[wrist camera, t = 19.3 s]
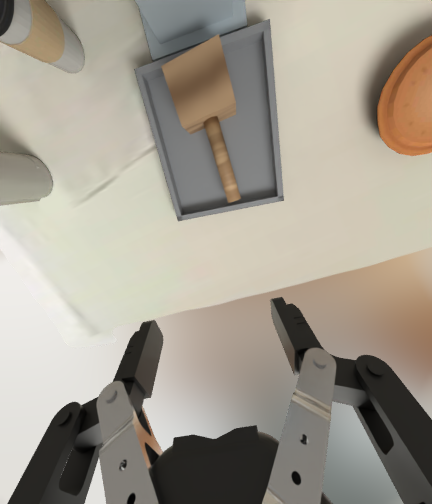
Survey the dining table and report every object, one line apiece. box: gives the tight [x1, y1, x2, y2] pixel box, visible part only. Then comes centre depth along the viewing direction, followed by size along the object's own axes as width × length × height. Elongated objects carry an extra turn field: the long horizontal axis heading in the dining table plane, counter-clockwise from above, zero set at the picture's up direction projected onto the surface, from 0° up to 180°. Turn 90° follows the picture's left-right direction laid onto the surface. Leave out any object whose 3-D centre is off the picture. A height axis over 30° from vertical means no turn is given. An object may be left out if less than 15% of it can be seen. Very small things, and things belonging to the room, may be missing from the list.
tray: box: [134, 19, 284, 221], centre depth 34 cm, size 26×22×3 cm
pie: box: [377, 35, 432, 156], centre depth 28 cm, size 16×16×5 cm
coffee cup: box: [0, 0, 84, 73], centre depth 26 cm, size 10×9×15 cm
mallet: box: [161, 34, 241, 203], centre depth 32 cm, size 22×9×6 cm, turn 19°
